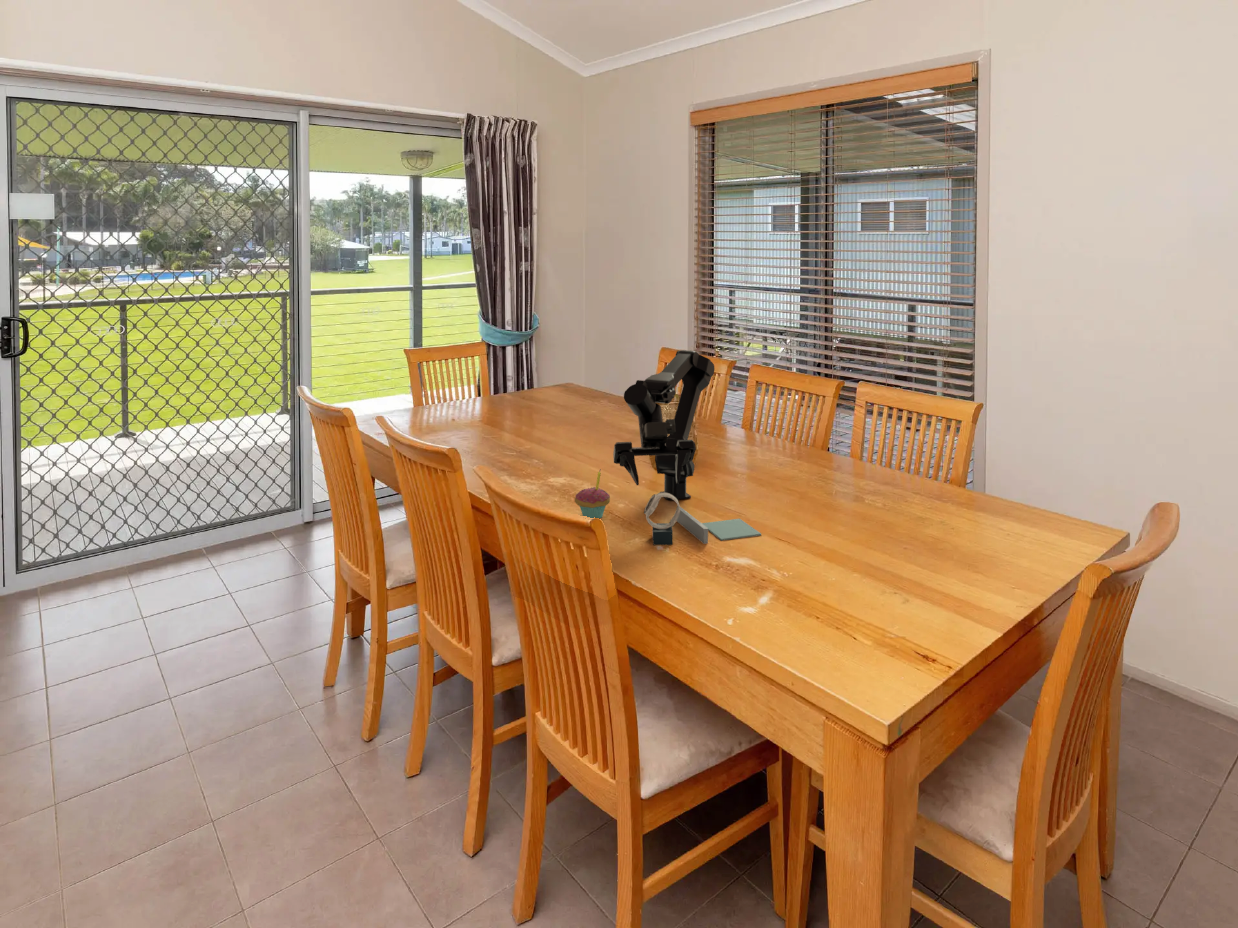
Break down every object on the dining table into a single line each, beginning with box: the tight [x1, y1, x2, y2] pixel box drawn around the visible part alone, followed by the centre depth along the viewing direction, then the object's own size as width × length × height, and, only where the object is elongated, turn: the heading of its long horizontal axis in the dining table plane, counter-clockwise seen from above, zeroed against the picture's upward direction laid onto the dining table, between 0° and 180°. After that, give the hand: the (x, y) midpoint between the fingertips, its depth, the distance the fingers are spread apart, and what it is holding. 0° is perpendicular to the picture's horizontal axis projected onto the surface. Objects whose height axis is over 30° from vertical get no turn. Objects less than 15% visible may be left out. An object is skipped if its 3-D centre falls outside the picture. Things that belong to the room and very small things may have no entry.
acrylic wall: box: [676, 506, 709, 545], centre depth 191 cm, size 16×1×4 cm, turn 19°
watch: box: [643, 491, 681, 546], centre depth 184 cm, size 6×8×11 cm
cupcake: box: [574, 468, 611, 519], centre depth 200 cm, size 9×8×12 cm
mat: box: [701, 518, 762, 542], centre depth 192 cm, size 11×10×1 cm
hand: (657, 483), depth 188 cm, fingers open, 9 cm apart
